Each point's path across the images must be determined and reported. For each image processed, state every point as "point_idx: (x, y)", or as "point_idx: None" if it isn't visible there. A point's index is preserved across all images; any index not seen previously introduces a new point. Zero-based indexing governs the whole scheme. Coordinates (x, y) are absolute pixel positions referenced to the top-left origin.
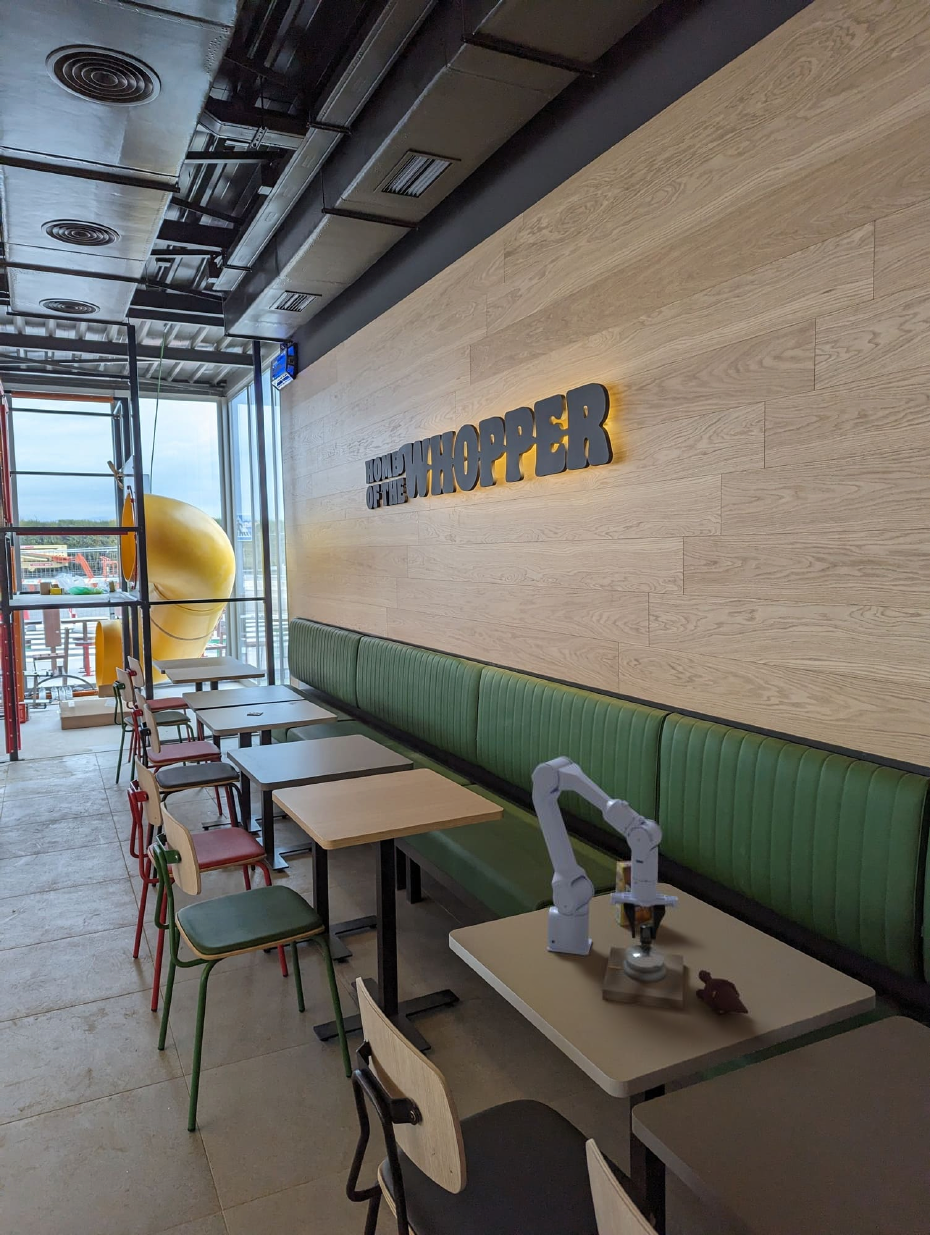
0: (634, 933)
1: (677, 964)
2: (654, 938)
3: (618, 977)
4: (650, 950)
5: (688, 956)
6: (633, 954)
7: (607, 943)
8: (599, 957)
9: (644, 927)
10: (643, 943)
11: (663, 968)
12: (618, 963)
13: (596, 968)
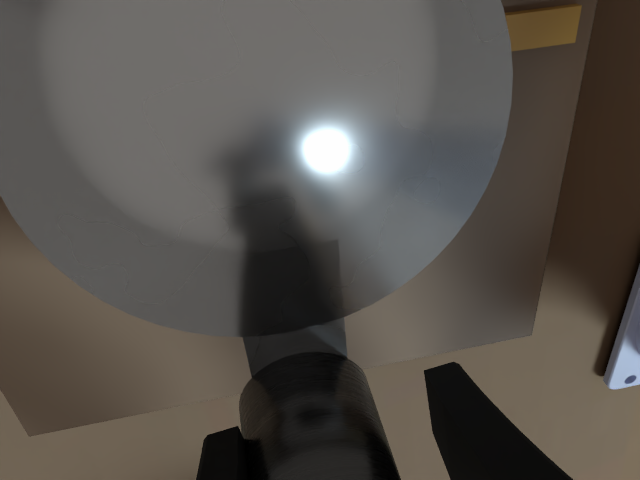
0: (460, 408)
1: (9, 313)
2: (213, 443)
3: None
4: (217, 254)
5: (52, 469)
6: (413, 57)
7: (517, 397)
8: (575, 246)
9: None
10: (323, 354)
11: None
12: None
13: (613, 95)
